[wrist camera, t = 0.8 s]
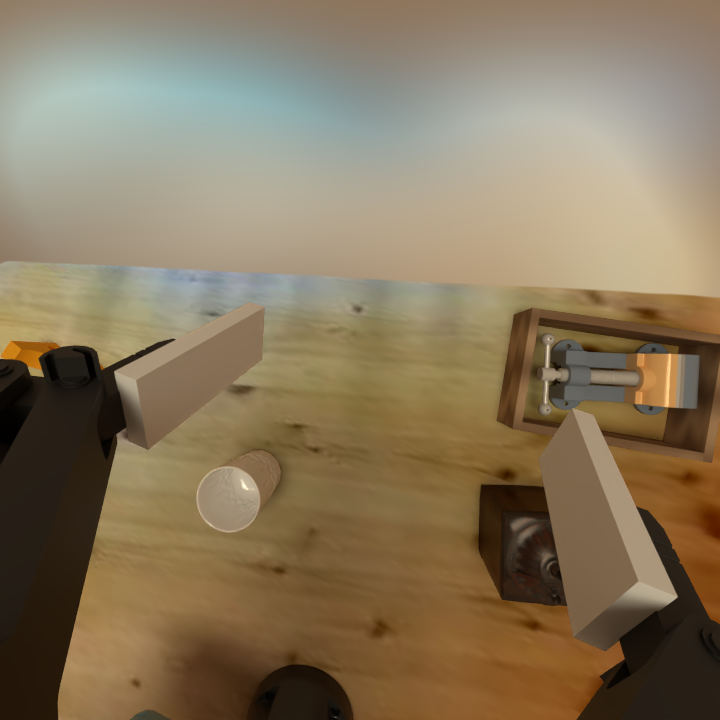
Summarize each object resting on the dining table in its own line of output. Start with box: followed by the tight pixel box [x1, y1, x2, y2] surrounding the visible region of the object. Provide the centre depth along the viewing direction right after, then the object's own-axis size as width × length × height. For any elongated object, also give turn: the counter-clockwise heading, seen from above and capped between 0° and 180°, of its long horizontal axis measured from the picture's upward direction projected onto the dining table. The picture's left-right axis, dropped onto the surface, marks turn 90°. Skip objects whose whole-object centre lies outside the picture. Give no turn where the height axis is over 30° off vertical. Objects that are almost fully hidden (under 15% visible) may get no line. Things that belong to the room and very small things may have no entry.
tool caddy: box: [497, 308, 720, 463], centre depth 44 cm, size 15×23×6 cm, turn 81°
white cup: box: [196, 450, 281, 532], centre depth 46 cm, size 8×8×10 cm
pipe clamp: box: [1, 341, 105, 370], centre depth 50 cm, size 12×4×6 cm, turn 53°
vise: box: [537, 333, 700, 415], centre depth 44 cm, size 18×10×7 cm, turn 87°
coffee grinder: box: [479, 485, 567, 606], centre depth 39 cm, size 16×11×18 cm
